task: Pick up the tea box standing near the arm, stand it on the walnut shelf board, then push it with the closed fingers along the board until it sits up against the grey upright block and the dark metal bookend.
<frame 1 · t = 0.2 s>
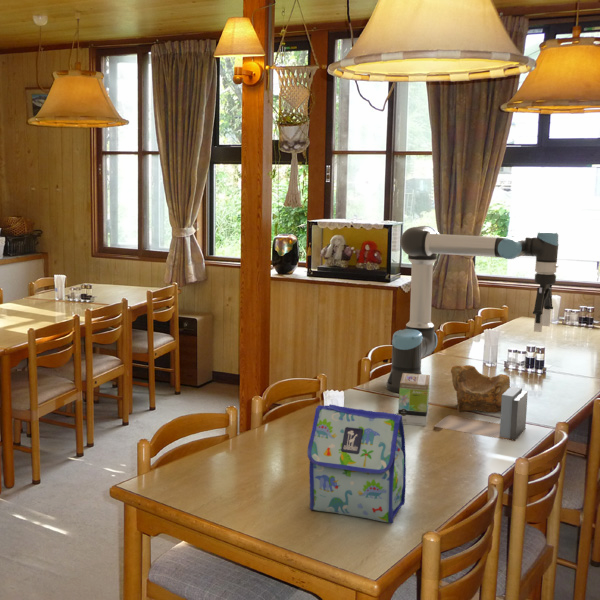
hand: (541, 328, 279), 28 cm above the table, tool pointing down, fingers open, 13 cm apart
lunch bag: (356, 510, 184), on the table
grey upright block: (509, 432, 242), resting on shelf board
tea box: (413, 419, 258), on the table
bookend: (517, 433, 240), resting on shelf board
shelf board: (479, 430, 247), on the table
rough brown rock: (473, 410, 269), on the table
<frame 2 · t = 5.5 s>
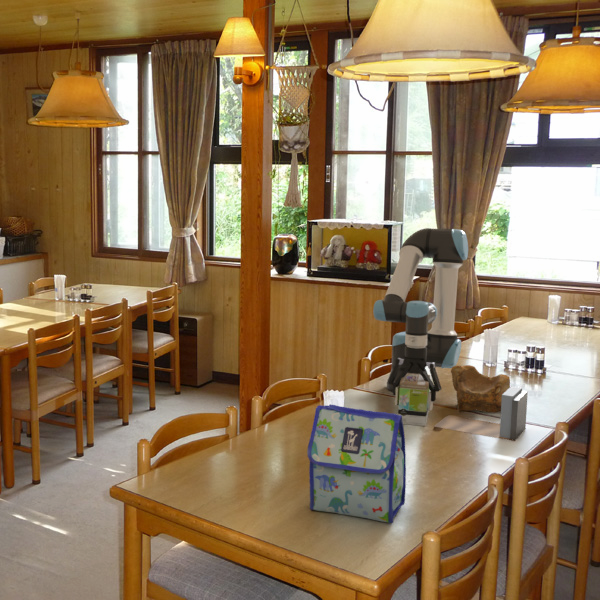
hand: (413, 407, 257), 4 cm above the table, tool pointing down, fingers closed on tea box, 11 cm apart
tea box: (413, 419, 258), on the table, touching gripper
everything else where it was.
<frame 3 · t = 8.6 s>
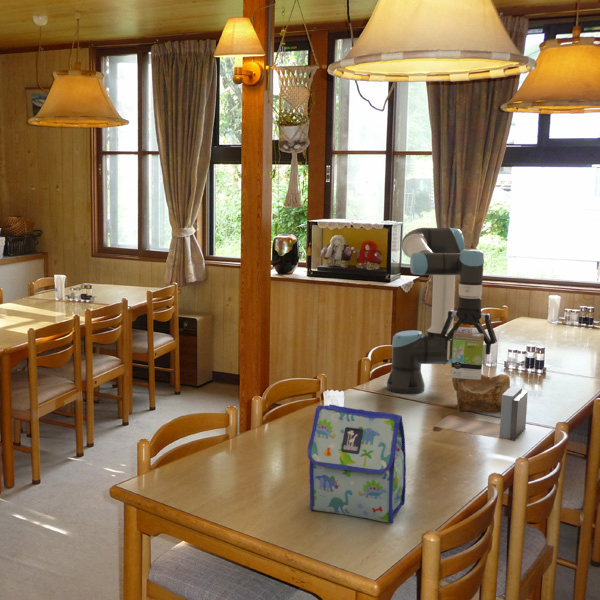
hand: (466, 361, 246), 23 cm above the table, tool pointing down, fingers closed on tea box, 11 cm apart
tea box: (466, 374, 246), point 18 cm above the table, touching gripper
everything else where it was.
when the fingers open (7 cm above the table, at t = 11.7 s): tea box drops 1 cm, resting on shelf board.
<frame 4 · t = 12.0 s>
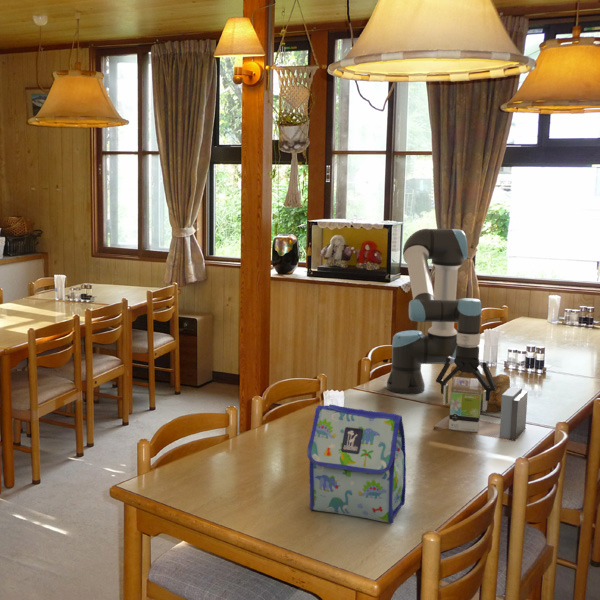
hand: (464, 406, 248), 7 cm above the table, tool pointing down, fingers open, 13 cm apart
tea box: (464, 425, 249), point 1 cm above the table, touching shelf board
everything else where it was.
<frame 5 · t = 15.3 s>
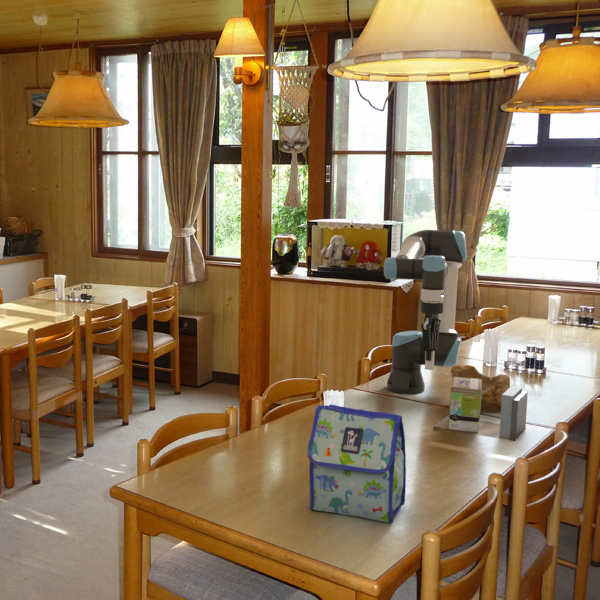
hand: (429, 369, 253), 18 cm above the table, tool pointing down, fingers closed
nothing on the table moved.
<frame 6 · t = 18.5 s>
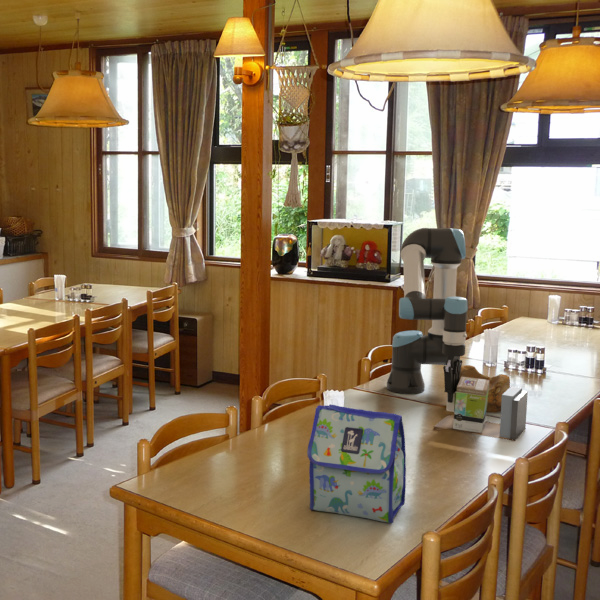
hand: (450, 410, 251), 5 cm above the table, tool pointing down, fingers closed
tea box: (469, 425, 248), point 1 cm above the table, touching hand
everything else where it was.
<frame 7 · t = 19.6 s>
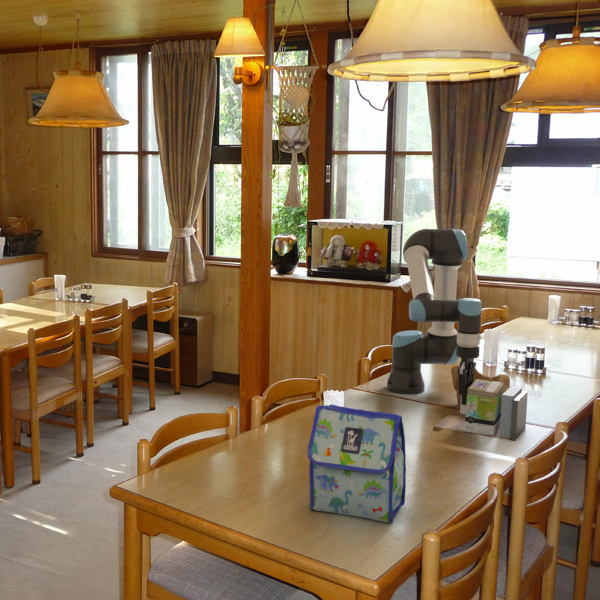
hand: (464, 413, 248), 5 cm above the table, tool pointing down, fingers closed
tea box: (483, 428, 246), point 1 cm above the table, touching gripper, shelf board
everything else where it was.
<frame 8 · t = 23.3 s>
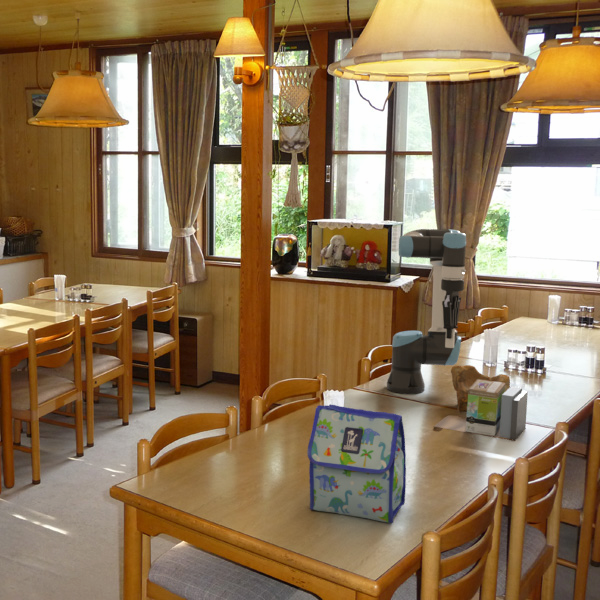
hand: (449, 347, 251), 26 cm above the table, tool pointing down, fingers closed
tea box: (484, 428, 246), point 1 cm above the table, touching shelf board
everything else where it was.
at the end: tea box inside the target area (1.4 cm from its centre), point 0.8 cm above the table; tea box tilted 0° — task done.
